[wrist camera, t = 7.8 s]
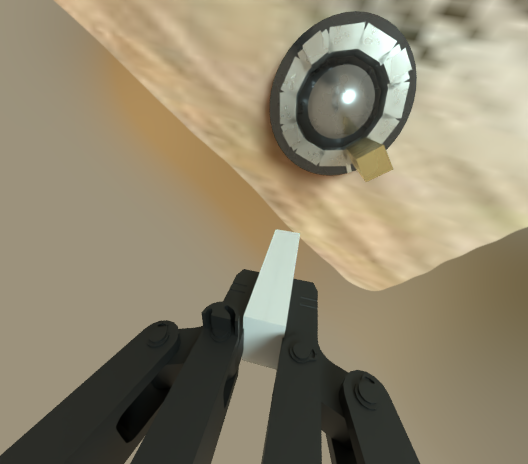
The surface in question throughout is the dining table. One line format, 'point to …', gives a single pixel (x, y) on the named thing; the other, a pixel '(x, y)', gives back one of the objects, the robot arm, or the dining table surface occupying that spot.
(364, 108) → the housing
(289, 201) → the dining table surface
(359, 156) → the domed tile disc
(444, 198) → the dining table surface
